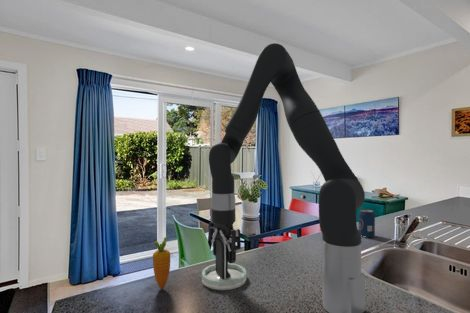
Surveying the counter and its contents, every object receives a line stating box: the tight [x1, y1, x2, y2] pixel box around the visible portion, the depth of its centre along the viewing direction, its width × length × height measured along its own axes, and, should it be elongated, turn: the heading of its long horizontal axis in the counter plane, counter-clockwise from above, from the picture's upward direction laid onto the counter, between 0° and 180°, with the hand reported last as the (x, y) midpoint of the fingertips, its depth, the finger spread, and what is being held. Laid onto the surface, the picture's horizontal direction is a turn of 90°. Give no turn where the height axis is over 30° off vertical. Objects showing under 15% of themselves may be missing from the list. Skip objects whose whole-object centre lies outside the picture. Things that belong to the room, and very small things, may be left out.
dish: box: [201, 262, 248, 291], centre depth 89 cm, size 14×14×2 cm
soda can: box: [358, 208, 376, 238], centre depth 133 cm, size 7×7×12 cm
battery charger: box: [214, 238, 232, 279], centre depth 89 cm, size 7×4×11 cm, turn 23°
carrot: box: [152, 236, 171, 290], centre depth 83 cm, size 5×5×15 cm
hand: (223, 258), depth 89 cm, fingers open, 8 cm apart
